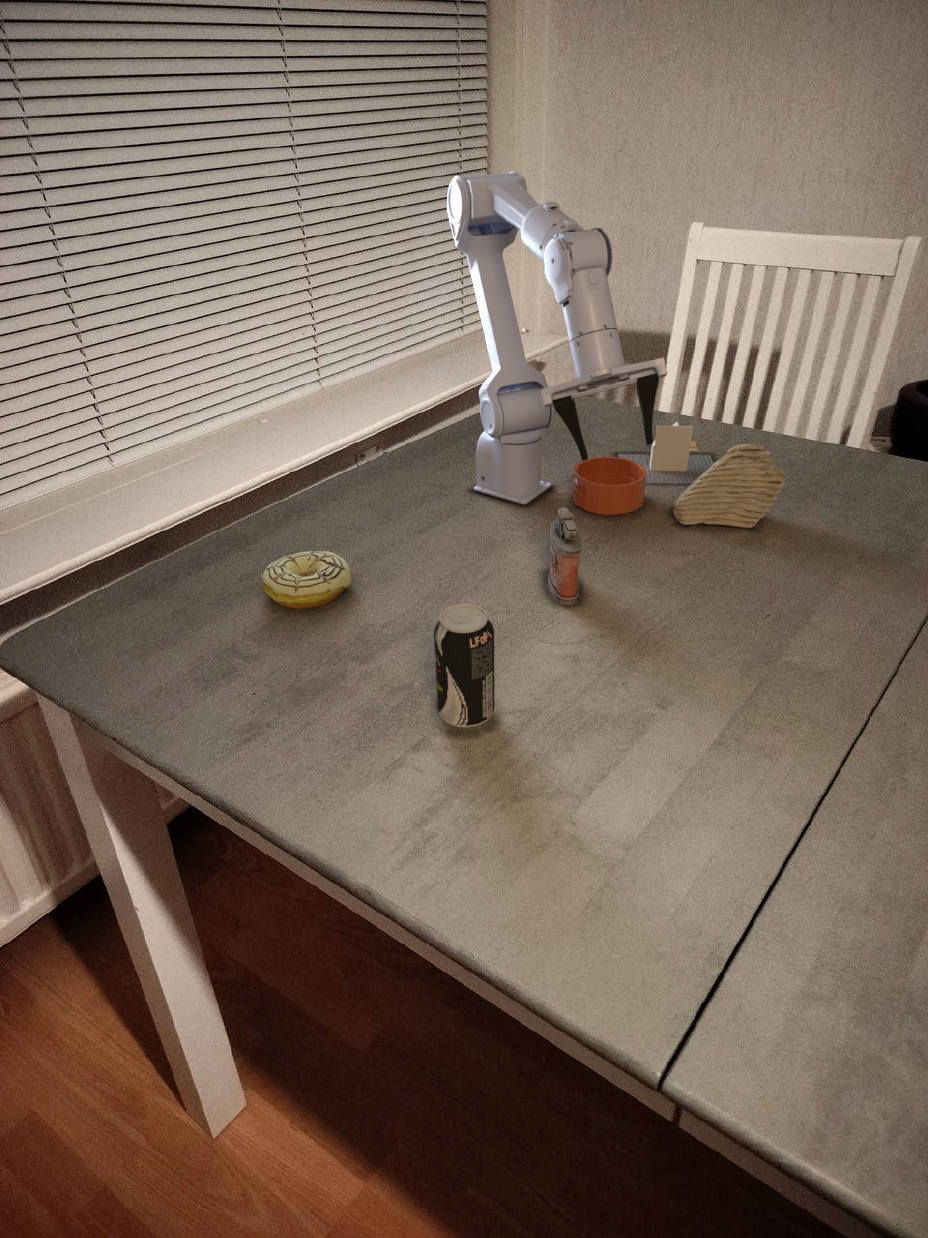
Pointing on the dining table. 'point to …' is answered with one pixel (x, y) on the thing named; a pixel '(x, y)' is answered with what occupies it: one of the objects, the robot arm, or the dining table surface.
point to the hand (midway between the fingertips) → (617, 452)
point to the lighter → (564, 558)
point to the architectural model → (672, 457)
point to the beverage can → (464, 665)
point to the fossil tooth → (732, 489)
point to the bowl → (609, 485)
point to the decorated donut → (306, 579)
